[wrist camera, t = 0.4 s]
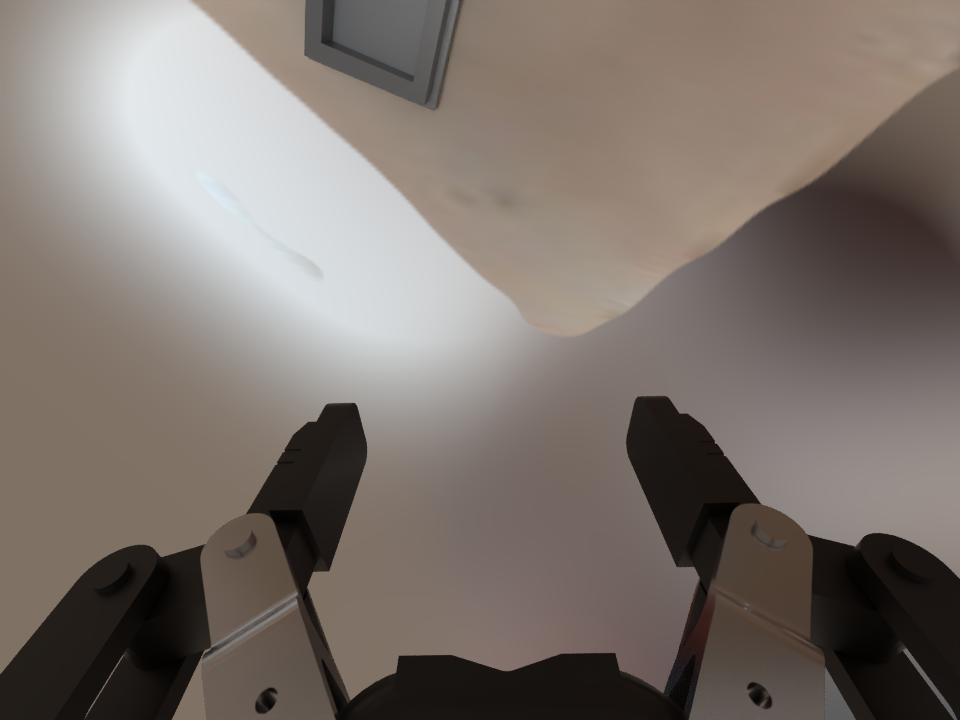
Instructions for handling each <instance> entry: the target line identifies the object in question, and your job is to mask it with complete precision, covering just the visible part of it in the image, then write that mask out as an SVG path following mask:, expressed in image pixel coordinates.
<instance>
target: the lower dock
mask: <svg viewBox="0 0 960 720" xmlns="http://www.w3.org/2000/svg"><path fill="white" fill-rule="evenodd" d="M461 2H462V0H306V9H305V54H304V55H305V56H307V57H309V59H312V60H314V61H316V62H319V63H321V64H324V65H326V66H328V67H331V68H333V69H336V70H338V71H340V72H343V73H345V74H348V75H350V76H352V77H355V78H357V79H359V80H362V81H364V82H367V83H369V84H371V85H374V86H376V87H379V88H381V89H383V90H386V91H388V92H391V93H393V94H395V95H398V96H400V97H403V98H405V99H407V100H410V101H412V102H414V103H417V104H419V105H422V106H424V107H426V108H429V109H431V110H435V109H436V108H437V107H438V102H439V98H440V94H441V89H442V85H443V81H444V76H445V72H446V67H447V63H448V59H449V54H450V50H451V46H452V41H453V37H454V33H455V28H456V24H457V20H458V15H459V11H460V6H461Z"/></svg>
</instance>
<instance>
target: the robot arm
mask: <svg viewBox="0 0 960 720" xmlns="http://www.w3.org/2000/svg"><path fill="white" fill-rule="evenodd" d="M626 445H627V453H628V457H629V459H630V461H631V464H632V466H633V468H634V471H635V473H636V475H637V478H638V480H639V482H640V484H641V487H642V489H643V491H644V493H645V496H646V498H647V500H648V503H649V505H650V507H651V509H652V512H653V514H654V516H655V518H656V521H657V523H658V525H659V528H660V530H661V532H662V534H663V537H664V539H665V541H666V544H667V546H668V548H669V550H670V552H671V555H672V557H673V559H674V562H675V564H676V566H677V567H695V569H696V571H697V573H698V575H699V577H700V578H699V580H698V583H697V585H696V588H695V592H694V596H693V600H692V603H691V607H690V610H689V614H688V617H687V621H686V624H685V628H684V631H683V635H682V639H681V642H680V646H679V649H678V653H677V656H676V659H675V662H674V665H673V667H672V670H671V672H670V675H669V677H668V680H667V683H666V686H665V689H664V692H663V693H662V692H660V691H659V690H657V689H656V688H655V687H653V686H651V685H649V684H648V683H646V682H644V681H643V680H641V679H639V678H637V677H635V676H633V675H631V674H628V673H625V672H622V671H620V670H619V666H618V662H617V658H616V654H615V653H584V654H560V655H557V656H554V657H551V658H548V659H545V660H542V661H539V662H536V663H533V664H530V665H527V666H525V667H522V668H519V669H516V670H513V671H501V670H498V669H495V668H491V667H488V666H485V665H482V664H478V663H475V662H472V661H469V660H466V659H462V658H459V657H456V656H453V655H427V656H426V655H425V656H424V655H422V656H399V658H398V665H397V672H396V673H395V674H392V675H389V676H387V677H385V678H383V679H381V680H379V681H377V682H375V683H373V684H372V685H370V686H369V687H368V688H366V689H364V690H363V691H361V693H359V694H358V695H357V696H356V697H354V698H353V699H352V700H350V698H349V695H348V693H347V690H346V688H345V685H344V683H343V680H342V678H341V676H340V673H339V671H338V669H337V666H336V664H335V662H334V659H333V657H332V654H331V651H330V648H329V645H328V643H327V640H326V637H325V634H324V632H323V629H322V626H321V623H320V620H319V618H318V615H317V612H316V609H315V607H314V604H313V601H312V598H311V596H310V593H309V590H308V588H307V586H308V583H309V581H310V578H311V575H312V573H313V572H318V571H329V570H330V567H331V564H332V561H333V558H334V555H335V552H336V549H337V546H338V543H339V540H340V537H341V534H342V531H343V528H344V525H345V522H346V519H347V517H348V514H349V511H350V508H351V504H352V502H353V499H354V496H355V493H356V490H357V487H358V484H359V481H360V478H361V475H362V472H363V469H364V466H365V463H366V458H367V442H366V438H365V434H364V431H363V427H362V423H361V419H360V415H359V411H358V408H357V405H356V404H355V403H332V404H327V405H326V406H325V408H324V409H323V411H322V413H321V414H320V417H319V418H318V420H317V422H308V423H306V425H304V426H303V427H302V428H301V429H300V430H298V431H297V432H296V433H295V434H294V435H293V436H292V438H291V440H290V442H289V443H288V445H287V447H286V448H285V452H284V453H282V455H281V457H280V458H279V460H278V462H277V463H278V464H277V465H275V467H274V468H273V470H272V472H271V473H270V475H269V477H268V478H267V480H266V482H265V483H264V485H263V487H262V488H261V490H260V492H259V494H258V495H257V497H256V499H255V500H254V502H253V504H252V505H251V507H250V509H249V510H248V512H247V513H246V515H243V516H240V517H238V518H235V519H233V520H231V521H229V522H227V523H226V524H225V525H223V526H222V527H221V528H219V529H218V530H217V531H216V532H215V533H214V534H213V535H212V536H211V537H210V538H209V540H208V541H207V543H206V544H204V545H201V546H198V547H195V548H191V549H188V550H185V551H182V552H178V553H175V554H171V555H168V556H165V557H160V556H159V554H158V553H157V552H156V551H155V550H154V549H153V548H152V547H150V546H147V545H135V546H130V547H126V548H123V549H121V550H118V551H116V552H114V553H112V554H110V555H108V556H107V557H105V558H103V559H102V560H100V561H99V562H97V563H96V564H94V565H93V566H92V567H91V568H89V569H88V570H87V571H86V572H85V573H84V574H83V575H82V576H81V577H80V578H79V579H78V580H77V582H76V583H75V584H74V585H73V586H72V588H71V589H70V590H69V591H68V593H67V594H66V595H65V596H64V598H63V599H62V600H61V601H60V602H59V604H58V605H57V606H56V607H55V608H54V610H53V611H52V612H51V613H50V615H49V616H48V617H47V618H46V620H45V621H44V622H43V623H42V624H41V626H40V627H39V628H38V630H37V631H36V632H35V633H34V634H33V635H32V637H31V638H30V639H29V640H28V642H27V643H26V644H25V645H24V646H23V647H22V649H21V650H20V651H19V652H18V654H17V655H16V656H15V657H14V658H13V660H12V661H11V662H10V664H9V665H8V666H7V667H6V668H5V669H4V671H3V672H2V673H1V674H0V720H172V718H173V716H174V714H175V712H176V709H177V707H178V705H179V703H180V701H181V699H182V697H183V694H184V692H185V690H186V688H187V686H188V684H189V682H190V680H191V677H192V675H193V673H194V671H195V669H196V667H197V665H198V663H199V661H200V659H201V656H202V654H203V652H204V650H206V649H209V648H211V650H210V651H208V652H207V653H205V654H204V656H203V658H202V665H201V666H202V667H201V668H202V669H201V670H202V681H203V691H204V701H205V710H206V719H207V720H825V667H826V668H827V670H828V672H829V673H830V675H831V677H832V679H833V680H834V682H835V684H836V686H837V687H838V689H839V691H840V693H841V694H842V696H843V698H844V700H845V701H846V703H847V705H848V706H849V708H850V710H851V712H852V713H853V715H854V717H855V719H856V720H954V719H953V718H952V716H951V715H950V714H949V712H948V711H947V710H946V708H945V707H944V706H943V704H942V703H941V702H940V700H939V699H938V698H937V696H936V695H935V694H934V692H933V691H932V690H931V688H930V687H929V686H928V684H927V683H926V681H925V680H924V679H923V677H922V676H921V675H920V673H919V672H918V671H917V669H916V668H915V667H914V665H913V664H912V663H911V661H910V660H909V659H908V657H907V656H906V655H905V653H904V652H903V650H904V649H905V648H907V649H908V651H909V652H910V653H911V655H912V656H913V657H914V659H915V660H916V661H917V662H918V664H919V665H920V666H921V668H922V669H923V670H924V672H925V673H926V675H927V676H928V677H929V678H930V680H931V681H932V682H933V684H934V685H935V686H936V688H937V689H938V690H939V692H940V693H941V694H942V696H943V697H944V698H945V700H946V701H947V702H948V704H949V705H950V707H951V708H952V710H953V712H954V714H955V716H956V718H957V720H960V579H959V578H958V577H957V576H956V575H955V574H954V573H953V572H952V571H951V569H949V568H948V567H947V566H946V565H945V564H944V563H943V562H942V561H940V560H939V559H938V558H937V557H935V556H934V555H933V554H931V553H930V552H928V551H927V550H925V549H923V548H921V547H920V546H918V545H916V544H914V543H912V542H910V541H907V540H905V539H902V538H900V537H896V536H893V535H889V534H883V533H872V534H868V535H866V536H864V537H863V538H862V540H861V541H860V542H859V543H858V545H857V546H856V547H855V546H851V545H847V544H843V543H839V542H835V541H830V540H826V539H822V538H818V537H814V536H811V535H807V534H806V533H805V531H804V530H803V529H802V528H801V527H800V526H799V525H798V524H797V523H796V522H795V521H794V520H792V519H791V518H789V517H788V516H787V515H785V514H783V513H782V512H780V511H778V510H775V509H773V508H771V507H768V506H764V505H761V503H760V502H759V501H758V499H757V498H756V496H755V495H754V494H753V492H752V491H751V490H750V488H749V487H748V486H747V484H746V483H745V481H744V480H743V479H742V477H741V476H740V475H739V474H738V472H737V471H736V469H735V468H734V466H733V465H732V464H731V462H730V461H729V460H728V458H727V457H726V456H724V453H723V451H722V450H721V449H720V447H719V446H718V445H717V444H715V440H714V439H713V438H712V436H711V435H710V434H709V432H708V431H707V429H706V428H705V427H704V426H703V425H702V424H701V423H699V422H698V421H696V420H695V419H694V418H692V417H691V416H690V415H688V414H679V412H678V411H677V410H676V408H675V406H674V405H673V403H672V402H671V400H670V399H669V398H668V397H666V396H641V397H637V398H636V400H635V403H634V407H633V411H632V416H631V420H630V424H629V429H628V433H627V439H626ZM122 655H123V658H122V660H121V661H120V663H119V664H118V666H117V668H116V669H115V671H114V672H113V674H112V676H111V678H110V679H109V680H108V682H107V684H106V685H105V687H104V689H103V690H102V692H101V693H100V695H99V697H98V698H97V700H96V702H95V703H94V705H93V707H92V708H91V710H90V711H89V713H88V714H87V712H88V710H89V708H90V707H91V705H92V704H93V702H94V700H95V699H96V697H97V695H98V694H99V692H100V691H101V689H102V687H103V686H104V684H105V683H106V681H107V679H108V678H109V676H110V675H111V673H112V671H113V670H114V668H115V666H116V665H117V663H118V662H119V660H120V658H121V657H122ZM86 714H87V716H86ZM85 716H86V718H85ZM84 718H85V719H84Z"/></svg>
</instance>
